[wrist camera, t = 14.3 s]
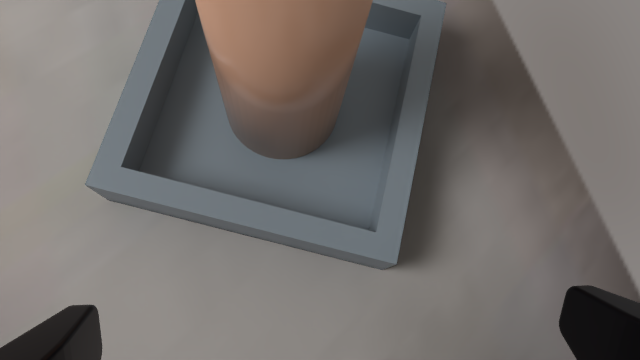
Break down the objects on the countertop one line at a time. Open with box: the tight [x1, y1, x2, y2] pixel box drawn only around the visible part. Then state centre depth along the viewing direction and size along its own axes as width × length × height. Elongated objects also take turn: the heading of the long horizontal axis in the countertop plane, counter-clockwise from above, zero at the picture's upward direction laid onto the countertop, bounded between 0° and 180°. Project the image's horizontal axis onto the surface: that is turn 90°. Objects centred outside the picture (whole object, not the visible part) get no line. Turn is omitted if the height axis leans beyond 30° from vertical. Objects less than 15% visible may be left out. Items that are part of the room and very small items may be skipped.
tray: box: [85, 0, 446, 270], centre depth 20 cm, size 12×12×2 cm
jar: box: [195, 0, 373, 159], centre depth 14 cm, size 5×5×13 cm
